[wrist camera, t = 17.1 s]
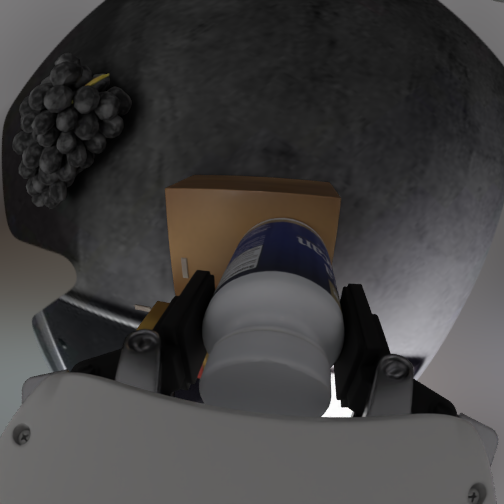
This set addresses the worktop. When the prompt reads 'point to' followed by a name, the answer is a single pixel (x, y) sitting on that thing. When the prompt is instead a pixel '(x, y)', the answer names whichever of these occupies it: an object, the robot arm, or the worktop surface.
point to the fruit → (66, 127)
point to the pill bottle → (274, 324)
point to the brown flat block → (238, 217)
